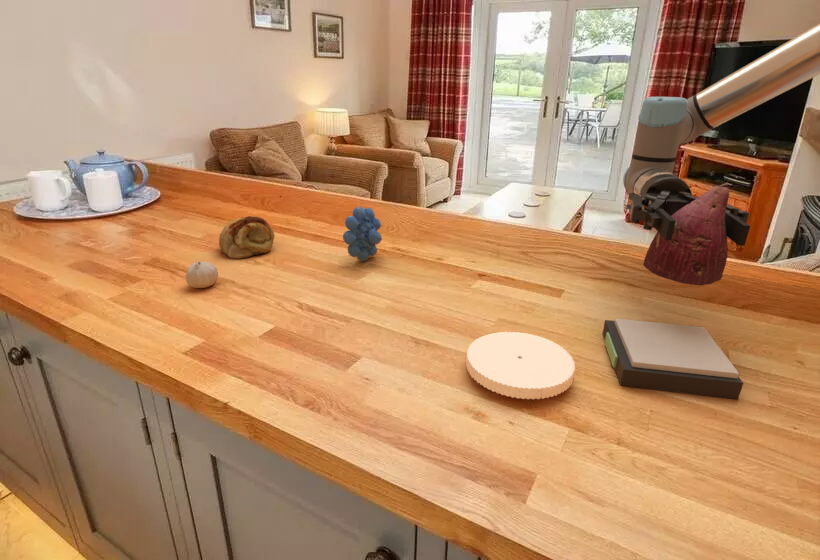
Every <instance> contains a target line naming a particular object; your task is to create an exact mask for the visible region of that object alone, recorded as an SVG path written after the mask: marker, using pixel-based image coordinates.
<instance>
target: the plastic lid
mask: <svg viewBox="0 0 820 560" xmlns="http://www.w3.org/2000/svg"><path fill="white" fill-rule="evenodd" d="M465 361H466V362H465V366H466V370H467V373H469V376H471V378H472V379H473V380H474V381H476V383H477V384H479V386H483V388H485V389H487V390H489V391H491V392H493V393H494V392H495V394H500V395H501V396H505V397H511V398H512V399H514V398H516V399H517V400H518V399H522V400H525V399H526V400H541V399H542V400H544V399H545V398H546V399H549V398H553V397H554V396H555V397H557V396H558V395H561V393H562V394H563V393H564V392H565V391H567V390H568V389H570V387H571V386H572V384H573V382H574V377H575V371H576V364H575V363H576V362H575V359H574V358H573V357H572V355H571V354H570V352H568V350H567V349H565V348H564V347H562V345H559V344H558V343H556V342H555V341H552V340H550V339H547V337H545V338H544V337H543V336H539V335H536V334H531V333H526V332H520V331H519V332H518V331H502V332H501V331H498V332H494V333H492V332H491V333H490V334H489V333H488V334H487V333H486V334H484V335H483V336H482V335H481V336H480V337H477V338H476V339H475V340H473V341H472V342H471V343H470V344H469V346H468V347H467V349H466V358H465Z"/></svg>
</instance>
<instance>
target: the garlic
mask: <svg viewBox="0 0 820 560" xmlns="http://www.w3.org/2000/svg"><path fill="white" fill-rule="evenodd" d="M218 277H219V270H218V268H217V266H216V265H215V264H213V263H211V262H208V261H200V260H196V261H195V262H193V263H191V264H190V265H189V266H188V267H187V268H186V272H185V282H186V283H187V285H188V287H191V288H194V289H205V288H206V289H207V288H209V287H211V286H212V285H214V284H215V283H216V282H218Z"/></svg>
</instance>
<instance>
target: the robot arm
mask: <svg viewBox="0 0 820 560" xmlns="http://www.w3.org/2000/svg"><path fill="white" fill-rule="evenodd" d="M819 75H820V23H818V24H816V25H814V26H813V27H810V28H809V29H807V30H806V31H804V32H802V33H800V34H799V35H797V36H795V37H793V38H792V39H790V40H788V41H787V42H785V43H782V44H781V45H778V47H776V48H774V49H772V50H770V51H769V52H767V53H765V54H764V55H761V56H760V57H758V58H757V59H755V60H753V61H752V62H750V63H748V64H746V65H745V66H742V67H741V68H739V69H737V70H736V71H734V72H732V73H730V74H728V75H727V76H725V77H723V78H721V79H720V80H718V81H717V82H715V83H713V84H711V85H710V86H707V87H706V88H704V89H703V90H701V91H699V92H697V93H696V94H694V95H692V96H690V97H688V98H685V97H681V96H680V97H679V96H648V97H646V98H645V99H644V100H643V101H642V104H641V108H640V112H639V114H638V117H637V119H638V123H637V127H636V134H635V140H634V146H633V150H632V156H631V159H630V165H629V166H628V167H627V168H626V170H625V171H624V175H623V178H622V182H623V183H622V184H623V187H624V189H625V191H626V194H627V195H628V197H627V202H626V207H625V208H626V209H627V210H628V211H629V215H630V217H629V219H630V223H632V224H638V223H640V221H642V222H644V223H643V227H642V228H643V230H646V231H652V230H653V229H655V230H656V231H657V232H659V233H660V235H661V236H662V237H663V238H664V239H665V240H671V239H672V235H673V231H674V226H675V222H676V221H675V220H674V219H673V218H672V217H671V216H672V215H673V214H674V213H676V212H677V211H678V210H680V209H681V208H683V207H684V206H686V205H687V204H689V203H691V202H692V201H694V200H695V199H697V198H698V197H699V196H695V195H693V193H692V190H691V188H690V186H689V184H688V183H687V182H686V181H685V180H683V179H682V178H680V177H679V176H677V175H676V174H674V168H675V164H676V160H677V154H678V150H679V147H680V145H686V144H688V143H690V142H692V141H694V140H696V139H697V138H698V137H699V136H701V135H703V134H706V133H707V132H709V131H711V130H713V129H715V128H716V127H719V126H721V125H722V124H724V123H727V122H728V121H731V120H733V119H734V118H736V117H738V116H740V115H742V114H744V113H746V112H748V111H750V110H752V109H754V108H756V107H758V106H760V105H762V104H764V103H766V102H767V101H769V100H772V99H774V98H775V97H777V96H779V95H782V94H783V93H785V92H787V91H789V90H791V89H793V88H796V87H797V86H799V85H801V84H803V83H805V82H807V81H809V80H811V79H813V78H815V77H817V76H819ZM749 217H750V213H749V212H748V211H745V210H743V209H741V208H739V207H736V206H733V205H731V204H728V203H727V206H726V211H725V227H726V233H727V239H729V240H731V241H732V242H734V243H735V244H736V245H737V246H744V247H745V246H746V243H747V240H748V236H749V232H750V229H751V225H750V224H749V223H748V220H749Z"/></svg>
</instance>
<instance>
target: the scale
mask: <svg viewBox="0 0 820 560" xmlns="http://www.w3.org/2000/svg"><path fill="white" fill-rule="evenodd" d="M602 337H603V340H604V345H605V347H606V348H605V349H606V350H607V354H608V357H609V360H610V362H611V365H612V368H613V369H614V372H615V375H616V377H617V380H618V384H619V386H621V387H630V388H637V389H638V388H639V389H646V390H655V391H664V392H670V393H671V392H673V393H680V394H688V395H689V394H690V395H695V396H696V395H698V396H706V397H712V398H713V397H714V398H722V399H732V400H739V398H740V395H741V392H742V389H743V386H744V382H743V381H742V379H741V377H740V376H739V375H740V372H739V371H738V370H737V369H736V367H735V366H734V364H733V363H732V362H731V361H730V359H729V358H728V357H727V356H726V355H727V354H725V353H724V351H723V350H722V349H721V348H720V346H719V344H718V343H717V342H716V341H715V339H714V338H713V337H712V335H711V334H710V333H709V332H708V330H707V329H706V327H704V326H699V325H689V324H680V323H679V324H678V323H666V322H657V321H646V320H638V319H637V320H635V319H628V318H627V319H626V318H615V319H614V320H610V319H605V320H604V324H603V329H602Z"/></svg>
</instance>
